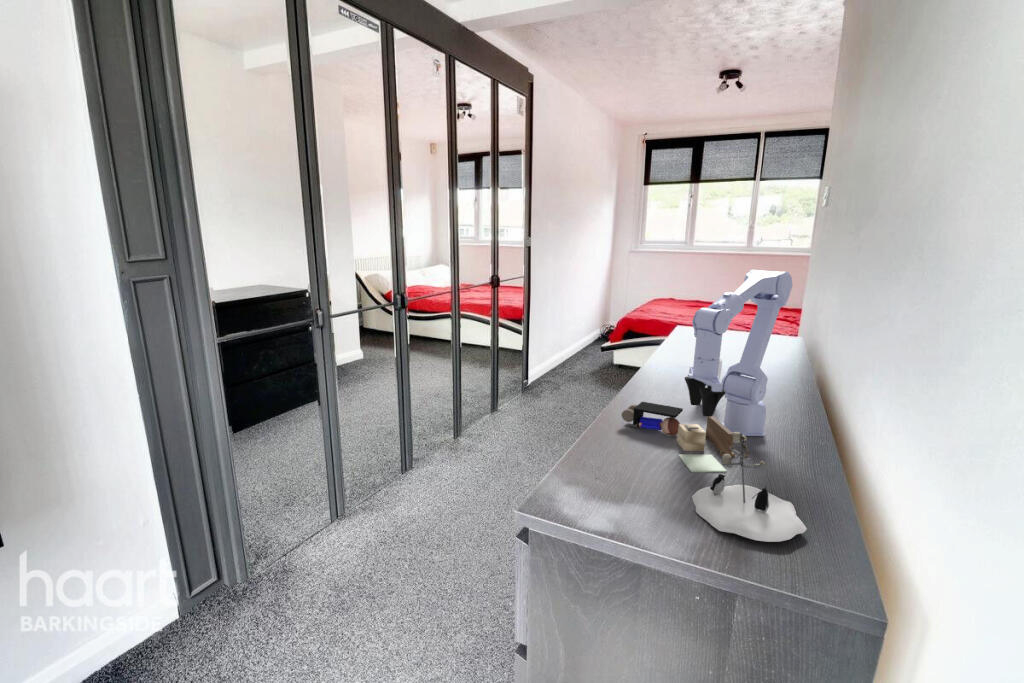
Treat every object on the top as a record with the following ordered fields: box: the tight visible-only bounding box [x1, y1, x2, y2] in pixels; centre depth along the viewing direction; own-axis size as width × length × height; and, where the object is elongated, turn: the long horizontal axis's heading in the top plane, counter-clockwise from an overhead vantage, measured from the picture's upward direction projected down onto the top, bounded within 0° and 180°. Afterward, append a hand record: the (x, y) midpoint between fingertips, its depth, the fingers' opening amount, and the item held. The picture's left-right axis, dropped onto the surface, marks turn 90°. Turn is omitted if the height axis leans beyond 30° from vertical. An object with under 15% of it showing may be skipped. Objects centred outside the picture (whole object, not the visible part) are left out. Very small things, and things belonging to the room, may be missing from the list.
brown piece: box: [705, 415, 736, 458], centre depth 117 cm, size 3×12×6 cm, turn 0°
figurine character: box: [621, 401, 684, 437], centre depth 127 cm, size 7×8×15 cm
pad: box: [678, 453, 727, 473], centre depth 109 cm, size 8×8×1 cm
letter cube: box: [676, 423, 707, 452], centre depth 117 cm, size 5×5×5 cm
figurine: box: [691, 432, 808, 543], centre depth 88 cm, size 20×18×16 cm
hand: (701, 410), depth 116 cm, fingers open, 7 cm apart
